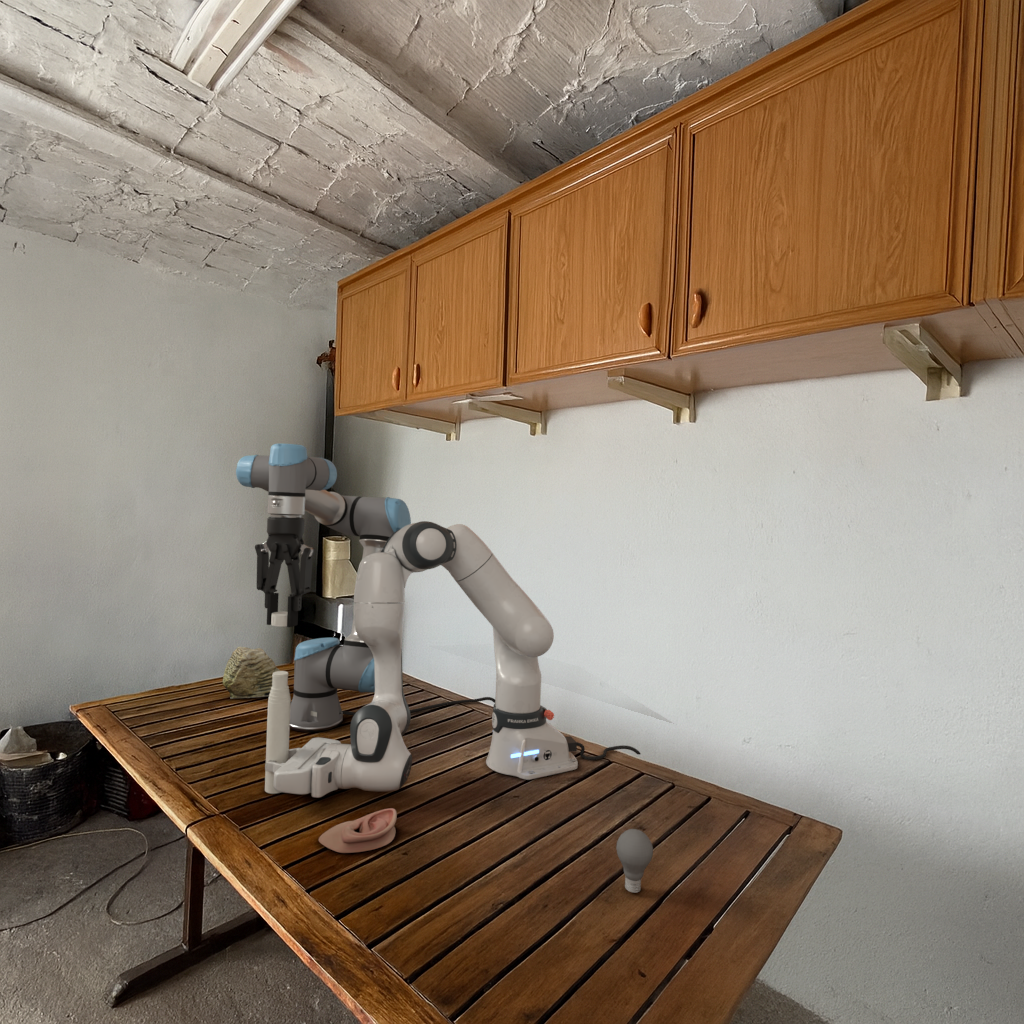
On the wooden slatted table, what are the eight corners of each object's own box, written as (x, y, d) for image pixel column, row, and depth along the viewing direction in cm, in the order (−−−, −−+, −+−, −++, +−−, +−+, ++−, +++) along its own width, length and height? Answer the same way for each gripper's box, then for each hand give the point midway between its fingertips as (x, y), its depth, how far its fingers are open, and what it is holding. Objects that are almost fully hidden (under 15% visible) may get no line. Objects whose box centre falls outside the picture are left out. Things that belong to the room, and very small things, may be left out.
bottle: (291, 785, 138) (295, 671, 138) (279, 795, 134) (283, 676, 133) (273, 782, 139) (277, 669, 139) (260, 791, 135) (264, 674, 134)
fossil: (218, 695, 195) (220, 647, 195) (278, 685, 208) (279, 640, 207) (228, 703, 189) (230, 653, 188) (289, 692, 201) (290, 645, 201)
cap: (287, 621, 139) (288, 610, 139) (296, 625, 136) (297, 614, 136) (267, 623, 136) (268, 612, 136) (276, 627, 133) (276, 616, 133)
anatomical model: (310, 826, 114) (340, 797, 125) (309, 848, 114) (339, 817, 125) (379, 837, 111) (403, 806, 122) (378, 859, 111) (403, 827, 123)
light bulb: (610, 879, 108) (613, 822, 108) (644, 879, 109) (647, 822, 109) (619, 902, 102) (622, 840, 102) (655, 901, 103) (658, 840, 103)
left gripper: (239, 514, 134) (235, 624, 135) (311, 518, 130) (307, 632, 130) (262, 514, 141) (258, 618, 142) (331, 518, 137) (327, 625, 137)
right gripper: (352, 732, 145) (294, 728, 147) (316, 770, 125) (250, 764, 126) (351, 760, 146) (293, 755, 147) (315, 802, 125) (248, 795, 126)
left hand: (282, 624), depth 136 cm, fingers closed on cap, 4 cm apart
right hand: (273, 759), depth 136 cm, fingers closed on bottle, 4 cm apart
